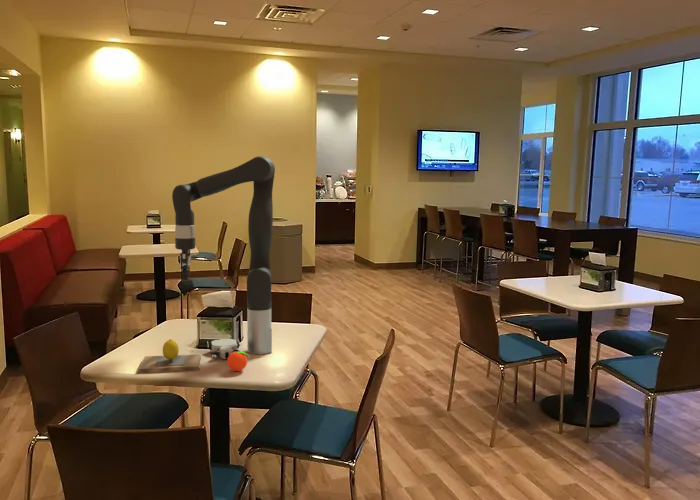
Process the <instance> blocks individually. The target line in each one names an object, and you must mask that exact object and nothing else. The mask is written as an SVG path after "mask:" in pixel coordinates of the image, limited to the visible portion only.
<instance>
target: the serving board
mask: <svg viewBox="0 0 700 500" xmlns="http://www.w3.org/2000/svg"><path fill="white" fill-rule="evenodd" d="M201 355H202V354H201V353H200V354H198V353H195V354H178V355H177V357H176V358H174V359H173V360H172V361H170V360H169V359H166V358H165V357H164V355H150V356H149V355H148V356H147V355H145V356H144V357H143V359H142V362H141V364H140V366H139V368H138V373H139V374H147V373H149V374H151V373H169V372H171V373H172V372H175V371H176V372H195V371H199V369H200V364H201V359H202V356H201Z"/></svg>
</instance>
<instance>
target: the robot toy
mask: <svg viewBox="0 0 700 500" xmlns="http://www.w3.org/2000/svg"><path fill="white" fill-rule="evenodd" d="M239 339H240V338H238V339H237V340H236V339H233V338H220V339H214V340H211V342H210V343H209V341H207V344H208V345H207V349H209V351H211V352H212V355H211V358H213V359H216V358H218V357H220V359H222V360H223V359H224V360H226V359H227V360H228V357H229V355H230V354H231V353H233V352H235V351H240V350H239V349H240V346H241V343H240V340H239Z"/></svg>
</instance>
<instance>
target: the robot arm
mask: <svg viewBox="0 0 700 500" xmlns="http://www.w3.org/2000/svg"><path fill="white" fill-rule="evenodd" d="M275 173H276V168H275V164H274V162H273V161H272V159H271V158H269V157H267V156H260V155H258V156H255V157H253V158H251V159H250V160H248V161H246V162H244V163H242V164H240V165H238V166H236V167H233V168H231V169H228V170H223V171H221V172H218V173H217V172H216V173H214V174H211V175H208V176H205V177H204V176H203V177H202V178H200V179H198V180H196V181H193V182H190V183H186V184H178V185H176V186H175V187H174V188H173V190H172V193H171V194H172V195H171V196H172V197H171V198H172V204H173V210H174V213H175V215H174V217H175V219H174V220H175V221H174V222H175V228H174V243H175V245H174V246H175V249H176V250H179V251H180V250H181V252H180V254H179V260H180V261H179V264H180V270H181V280H183V281H187V280H189V276H190V275H191V269H190V267H191V263H192V262H191V261H192V253H191V250H194V249H196V226H195V213H194V210H192V207H191V203H192V202H194V201H197V200H199V199H201V198H204V197H208V196H212V195H215V194H218V193H221V192H223V191H226V190H229V189H230V188H232V187H235V186H237V185H240V184H245V183H252V182H253V183H252V184H253V194H252V200H251V204H250V207H249V210H248V211H249V212H248V227H247V228H248V230H247V231H248V232H247V233H248V241H249V248H250V250H249V251H250V262H249V270H248V274H247V277H246V304H247V306H246V307H247V311H246V313H247V320H246V322H247V329H246V330H247V346H246V347H247V353H249V354H252V355H265V354H269V353H273V351H272V350H273V344H272V343H273V339H272V338H273V337H272V336H273V333H272V330H273V329H272V271H271V261H270V260H271V259H270V253H271V246H272V241H273V226H274V225H273V223H274V222H273V221H274V217H273V216H274V215H273V211H274V210H273V209H274V208H273V206H274V205H273V191H274V190H273V189H274V187H273V186H274V180H275Z"/></svg>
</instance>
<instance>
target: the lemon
mask: <svg viewBox="0 0 700 500" xmlns="http://www.w3.org/2000/svg"><path fill="white" fill-rule="evenodd" d="M179 350H180V349H179V345H178V342H177V341H175V340H174V339H171V338H170V339H168V340H166V341H165V342H164V343H163V345H162V356H164V357H165V358H166V359H169V360H170V361H172V360H173V359H174V358H176V357H177V355H179Z"/></svg>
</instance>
